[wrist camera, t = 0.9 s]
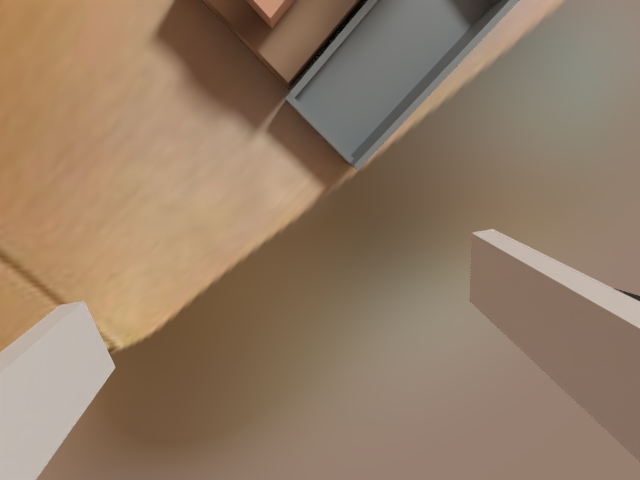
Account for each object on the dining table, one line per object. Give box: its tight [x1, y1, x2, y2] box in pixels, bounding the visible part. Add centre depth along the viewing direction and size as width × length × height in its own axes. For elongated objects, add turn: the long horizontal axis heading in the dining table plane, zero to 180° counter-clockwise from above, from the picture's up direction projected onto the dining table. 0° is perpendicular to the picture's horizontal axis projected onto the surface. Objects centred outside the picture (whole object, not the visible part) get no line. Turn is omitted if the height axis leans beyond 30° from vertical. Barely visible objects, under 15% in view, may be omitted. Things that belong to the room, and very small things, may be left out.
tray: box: [285, 0, 519, 170], centre depth 28 cm, size 9×20×5 cm, turn 137°
